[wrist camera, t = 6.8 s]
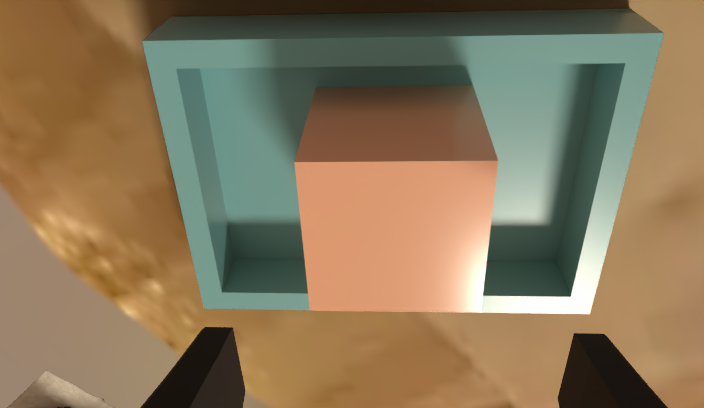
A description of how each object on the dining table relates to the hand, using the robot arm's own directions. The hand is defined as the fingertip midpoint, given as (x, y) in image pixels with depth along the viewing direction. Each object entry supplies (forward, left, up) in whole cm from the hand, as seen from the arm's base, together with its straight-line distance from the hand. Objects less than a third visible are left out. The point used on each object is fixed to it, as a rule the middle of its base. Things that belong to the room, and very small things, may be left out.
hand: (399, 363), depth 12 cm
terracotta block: (0, 0, -9) cm, 9 cm away
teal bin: (0, 0, -9) cm, 9 cm away
